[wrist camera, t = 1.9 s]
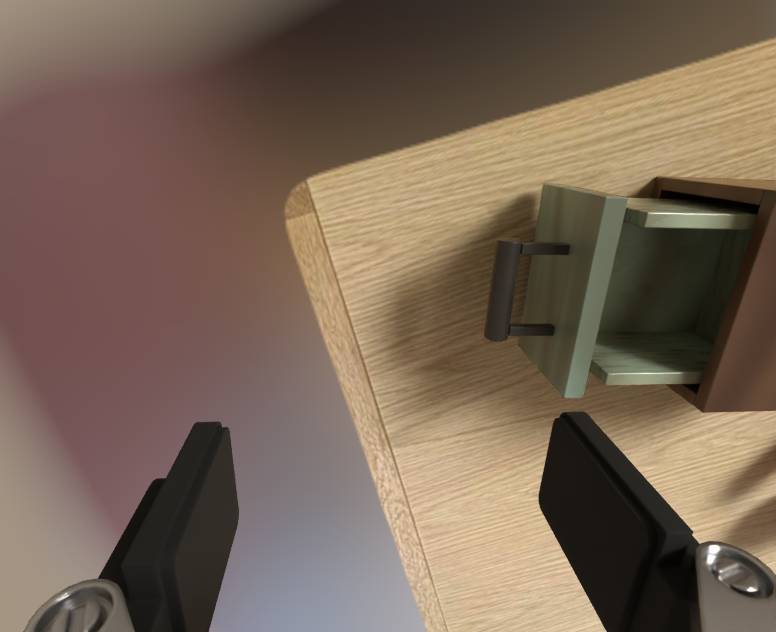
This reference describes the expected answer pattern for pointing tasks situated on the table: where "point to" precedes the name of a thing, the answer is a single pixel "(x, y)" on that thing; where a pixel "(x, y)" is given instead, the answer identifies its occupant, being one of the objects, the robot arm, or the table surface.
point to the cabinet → (739, 304)
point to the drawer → (620, 286)
